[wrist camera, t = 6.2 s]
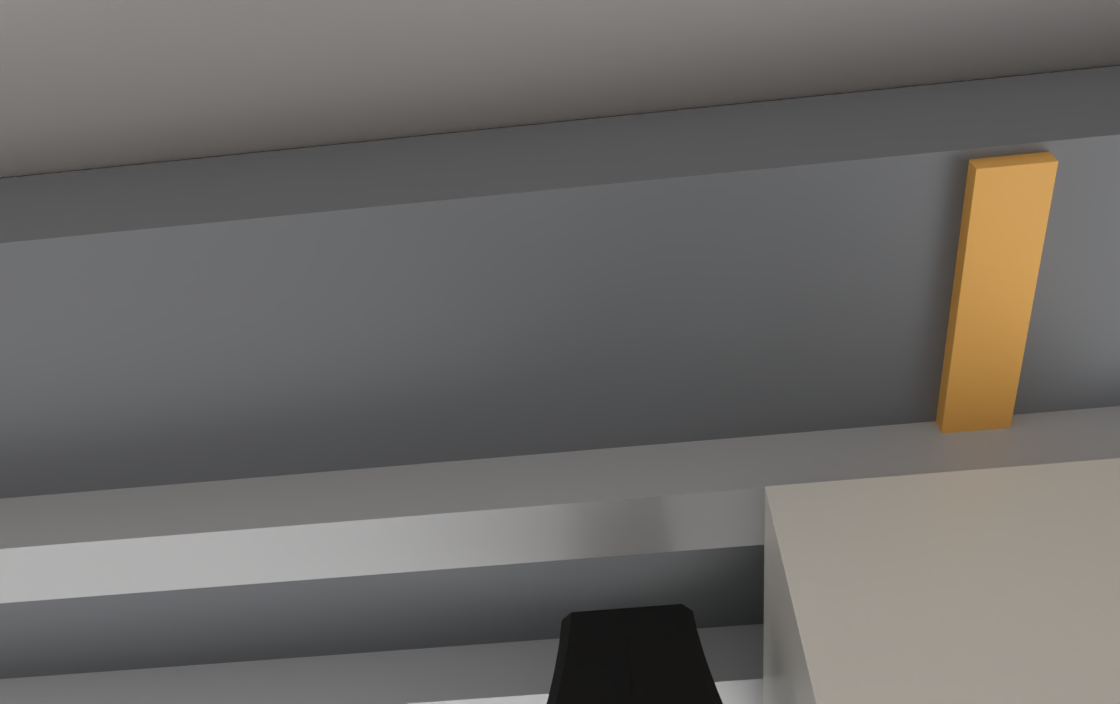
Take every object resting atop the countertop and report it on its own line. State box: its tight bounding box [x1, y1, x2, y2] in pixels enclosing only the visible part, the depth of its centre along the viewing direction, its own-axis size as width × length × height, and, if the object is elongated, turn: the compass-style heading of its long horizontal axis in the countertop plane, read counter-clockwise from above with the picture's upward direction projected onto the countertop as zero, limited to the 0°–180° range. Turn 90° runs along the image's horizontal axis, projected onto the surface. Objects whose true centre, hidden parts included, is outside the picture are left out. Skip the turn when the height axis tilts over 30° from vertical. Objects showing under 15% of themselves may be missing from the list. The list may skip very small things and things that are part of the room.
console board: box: [0, 66, 1120, 704], centre depth 13 cm, size 10×19×2 cm, turn 96°
